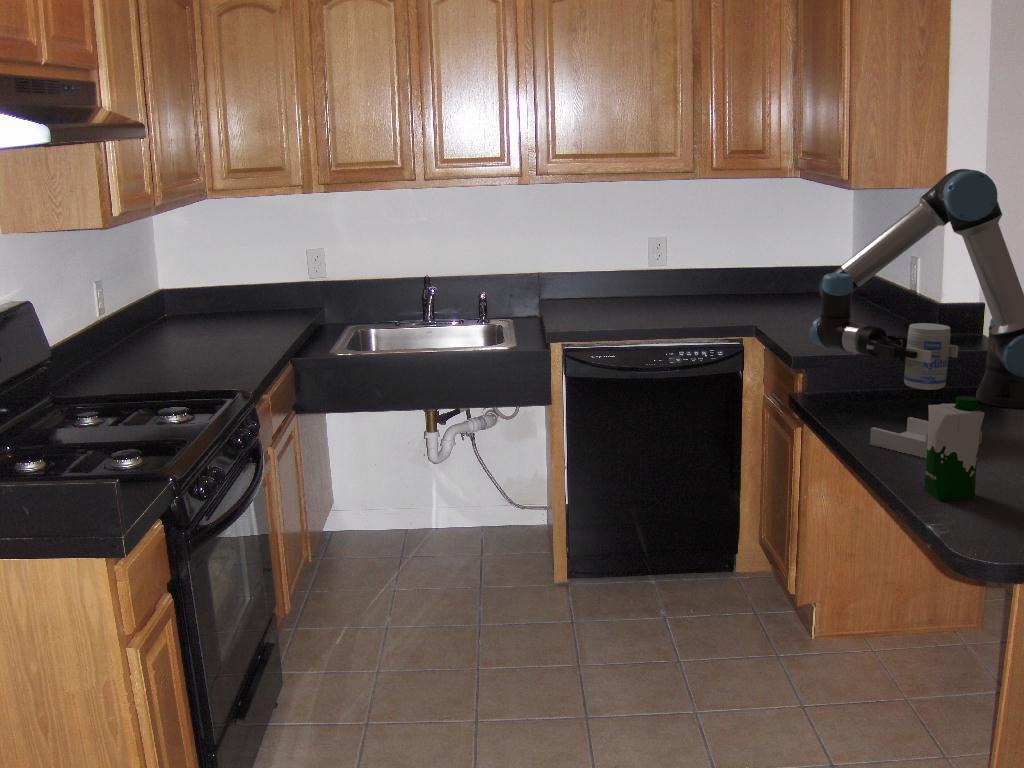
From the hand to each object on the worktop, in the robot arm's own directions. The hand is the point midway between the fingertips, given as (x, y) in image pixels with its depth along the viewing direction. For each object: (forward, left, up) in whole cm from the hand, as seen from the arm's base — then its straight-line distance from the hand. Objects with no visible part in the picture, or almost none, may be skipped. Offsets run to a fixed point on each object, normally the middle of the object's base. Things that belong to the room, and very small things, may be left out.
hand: (943, 354), depth 246 cm
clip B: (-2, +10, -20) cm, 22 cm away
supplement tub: (+1, -4, -9) cm, 10 cm away
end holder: (+10, +7, -20) cm, 23 cm away
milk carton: (+25, +37, -20) cm, 49 cm away
